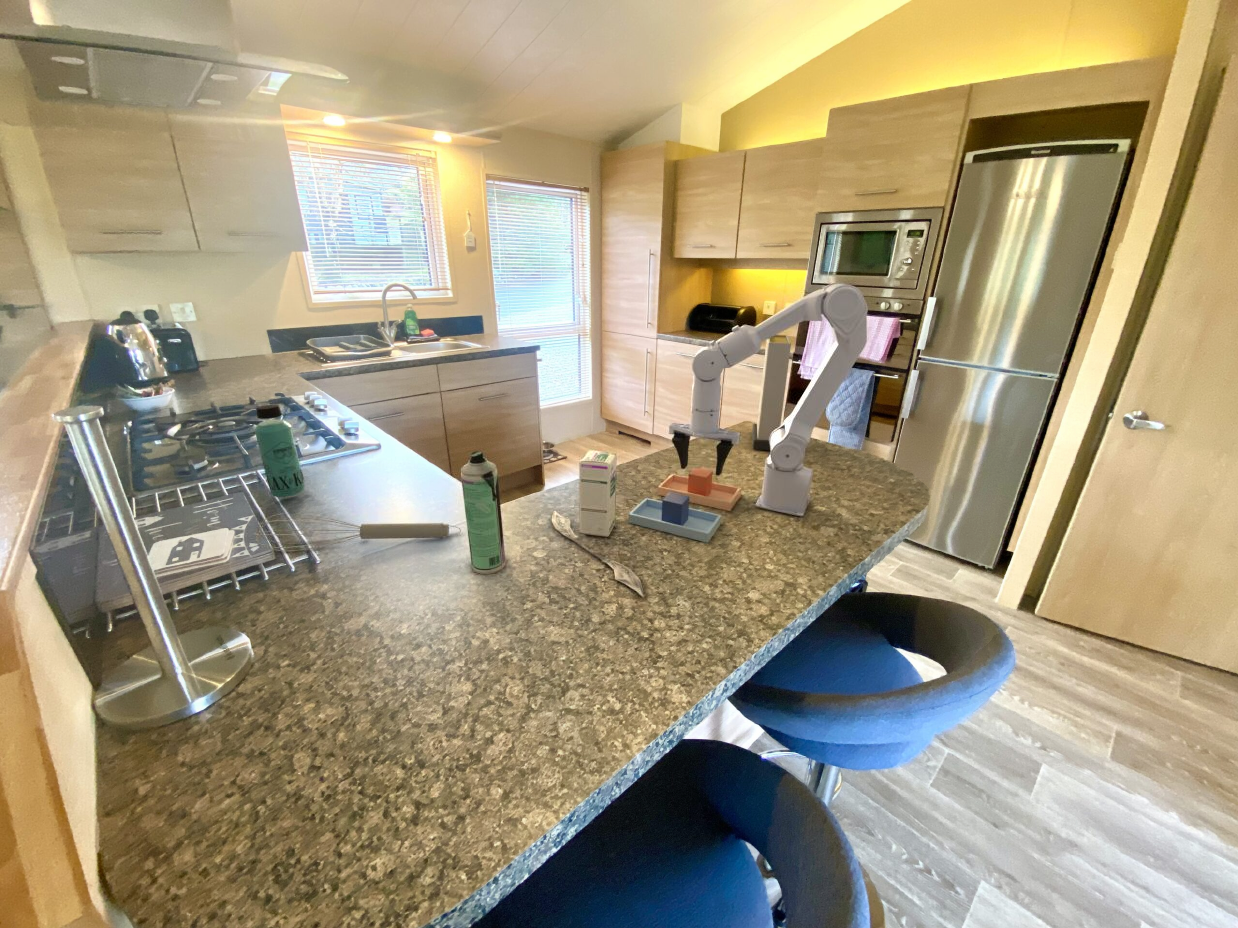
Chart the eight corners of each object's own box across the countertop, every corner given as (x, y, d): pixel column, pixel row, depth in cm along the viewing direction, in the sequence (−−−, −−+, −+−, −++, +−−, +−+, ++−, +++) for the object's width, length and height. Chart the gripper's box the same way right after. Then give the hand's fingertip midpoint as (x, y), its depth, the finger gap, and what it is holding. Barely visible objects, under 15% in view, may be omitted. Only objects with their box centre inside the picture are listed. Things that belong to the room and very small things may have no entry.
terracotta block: (711, 492, 112) (712, 470, 110) (705, 499, 108) (706, 477, 107) (693, 488, 113) (695, 467, 112) (687, 495, 110) (688, 473, 108)
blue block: (688, 519, 100) (689, 496, 98) (680, 528, 97) (682, 504, 95) (669, 514, 102) (670, 491, 100) (661, 523, 99) (662, 499, 97)
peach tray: (740, 495, 111) (741, 487, 110) (729, 511, 104) (730, 502, 104) (671, 481, 118) (671, 473, 117) (657, 494, 111) (657, 486, 111)
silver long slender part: (556, 511, 103) (535, 518, 101) (556, 509, 103) (535, 516, 100) (664, 588, 80) (640, 600, 77) (664, 585, 80) (640, 597, 77)
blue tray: (721, 523, 99) (721, 515, 99) (707, 542, 93) (708, 533, 92) (645, 505, 106) (646, 497, 106) (628, 522, 100) (628, 513, 99)
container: (777, 443, 149) (790, 336, 142) (782, 455, 131) (796, 333, 125) (751, 441, 150) (762, 335, 144) (752, 452, 133) (765, 332, 126)
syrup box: (609, 537, 94) (612, 463, 89) (577, 533, 95) (578, 459, 90) (615, 523, 99) (618, 452, 94) (585, 519, 100) (587, 449, 95)
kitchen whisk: (459, 544, 92) (455, 512, 90) (253, 560, 87) (242, 527, 85) (463, 527, 98) (459, 497, 95) (270, 541, 93) (260, 510, 90)
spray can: (511, 559, 88) (502, 449, 80) (494, 576, 83) (482, 461, 75) (483, 553, 89) (472, 444, 82) (465, 570, 84) (450, 456, 77)
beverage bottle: (264, 500, 107) (238, 408, 100) (294, 488, 113) (271, 399, 106) (286, 506, 105) (261, 412, 98) (315, 493, 111) (293, 403, 103)
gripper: (664, 408, 104) (662, 470, 109) (735, 418, 97) (729, 483, 102) (677, 400, 109) (674, 459, 114) (745, 409, 103) (739, 471, 108)
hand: (701, 470), depth 109 cm, fingers open, 7 cm apart
